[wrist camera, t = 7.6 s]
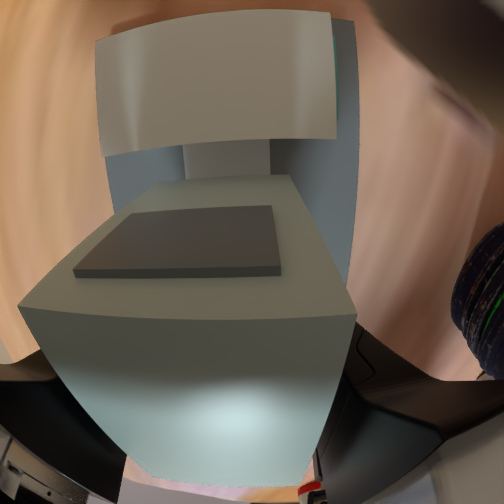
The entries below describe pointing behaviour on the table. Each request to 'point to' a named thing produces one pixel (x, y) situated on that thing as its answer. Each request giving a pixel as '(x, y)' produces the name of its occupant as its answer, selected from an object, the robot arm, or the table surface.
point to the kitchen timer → (306, 489)
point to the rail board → (236, 108)
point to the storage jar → (483, 302)
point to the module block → (202, 330)
